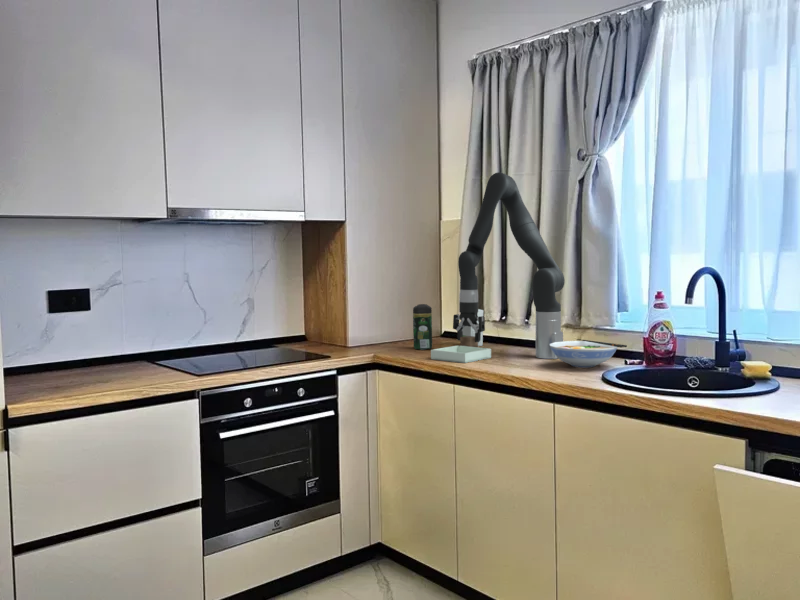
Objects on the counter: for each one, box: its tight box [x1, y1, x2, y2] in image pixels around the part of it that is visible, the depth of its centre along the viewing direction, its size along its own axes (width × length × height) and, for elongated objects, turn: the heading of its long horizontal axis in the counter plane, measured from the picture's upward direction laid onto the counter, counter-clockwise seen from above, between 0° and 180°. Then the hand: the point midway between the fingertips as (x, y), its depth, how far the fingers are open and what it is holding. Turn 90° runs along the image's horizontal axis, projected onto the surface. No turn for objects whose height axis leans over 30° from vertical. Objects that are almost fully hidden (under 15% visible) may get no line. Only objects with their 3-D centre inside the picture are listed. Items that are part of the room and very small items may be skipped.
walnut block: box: [459, 336, 479, 347], centre depth 275 cm, size 5×5×6 cm
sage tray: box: [430, 345, 492, 364], centre depth 256 cm, size 16×16×4 cm
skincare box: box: [462, 308, 484, 347], centre depth 294 cm, size 8×7×16 cm
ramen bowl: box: [550, 338, 628, 369], centre depth 234 cm, size 25×23×8 cm
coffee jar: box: [412, 303, 433, 351], centre depth 286 cm, size 10×8×19 cm
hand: (468, 341), depth 275 cm, fingers open, 8 cm apart
